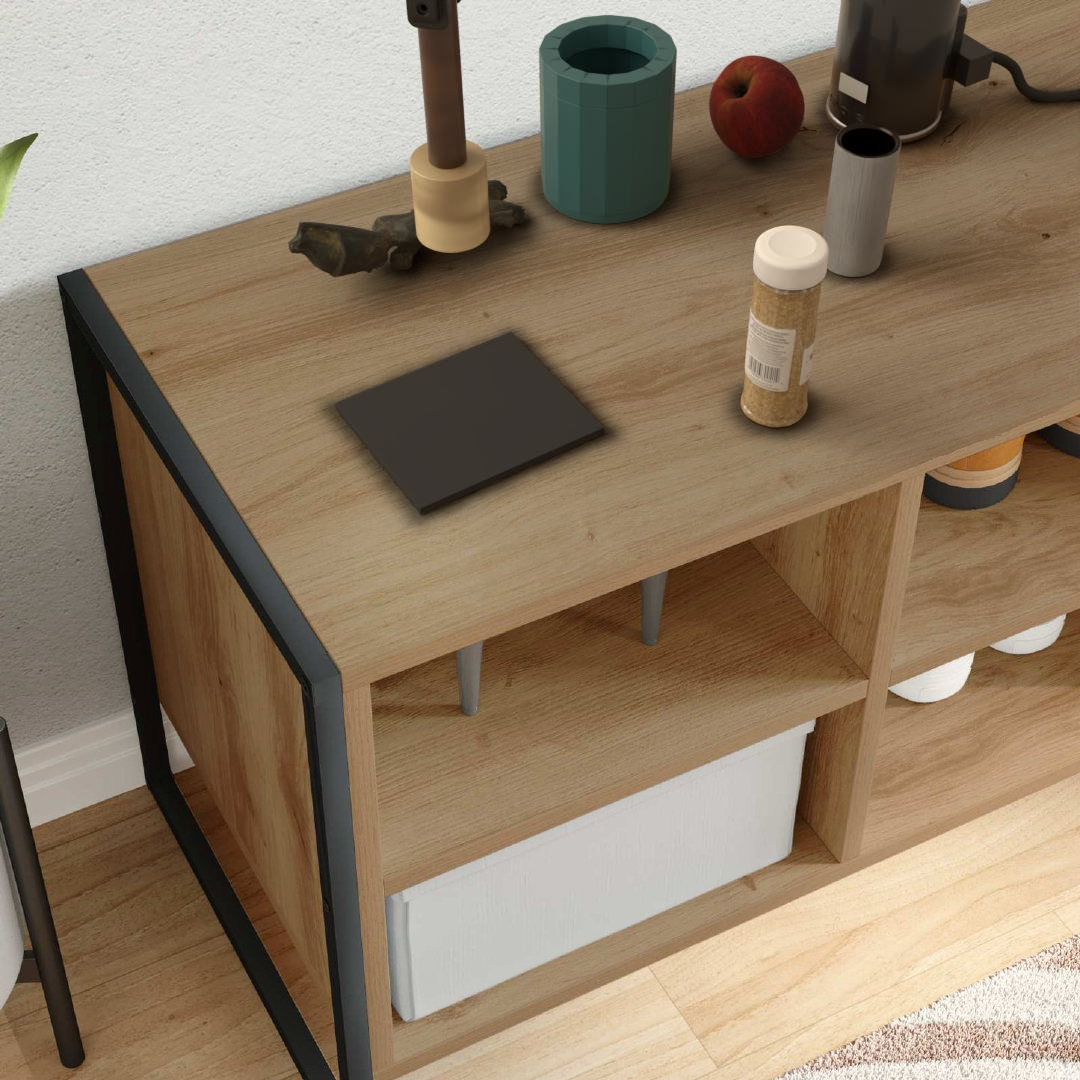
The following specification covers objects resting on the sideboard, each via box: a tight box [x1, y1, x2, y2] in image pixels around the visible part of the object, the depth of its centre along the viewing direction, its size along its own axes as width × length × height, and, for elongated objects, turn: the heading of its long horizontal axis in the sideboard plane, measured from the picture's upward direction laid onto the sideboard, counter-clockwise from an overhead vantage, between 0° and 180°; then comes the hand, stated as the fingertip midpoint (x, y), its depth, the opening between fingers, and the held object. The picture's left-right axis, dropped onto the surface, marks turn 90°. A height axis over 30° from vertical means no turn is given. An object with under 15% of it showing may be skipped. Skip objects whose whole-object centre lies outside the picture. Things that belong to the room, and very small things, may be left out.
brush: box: [409, 0, 491, 254], centre depth 87 cm, size 4×4×19 cm
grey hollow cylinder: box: [821, 123, 902, 278], centre depth 114 cm, size 4×4×10 cm
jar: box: [538, 14, 678, 225], centre depth 120 cm, size 10×10×12 cm
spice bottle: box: [740, 224, 829, 428], centre depth 102 cm, size 5×5×13 cm
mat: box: [334, 331, 605, 516], centre depth 106 cm, size 14×12×1 cm
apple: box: [708, 54, 806, 159], centre depth 125 cm, size 7×8×8 cm
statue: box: [287, 179, 527, 278], centre depth 117 cm, size 6×6×20 cm
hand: (437, 10), depth 84 cm, fingers closed on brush, 2 cm apart
